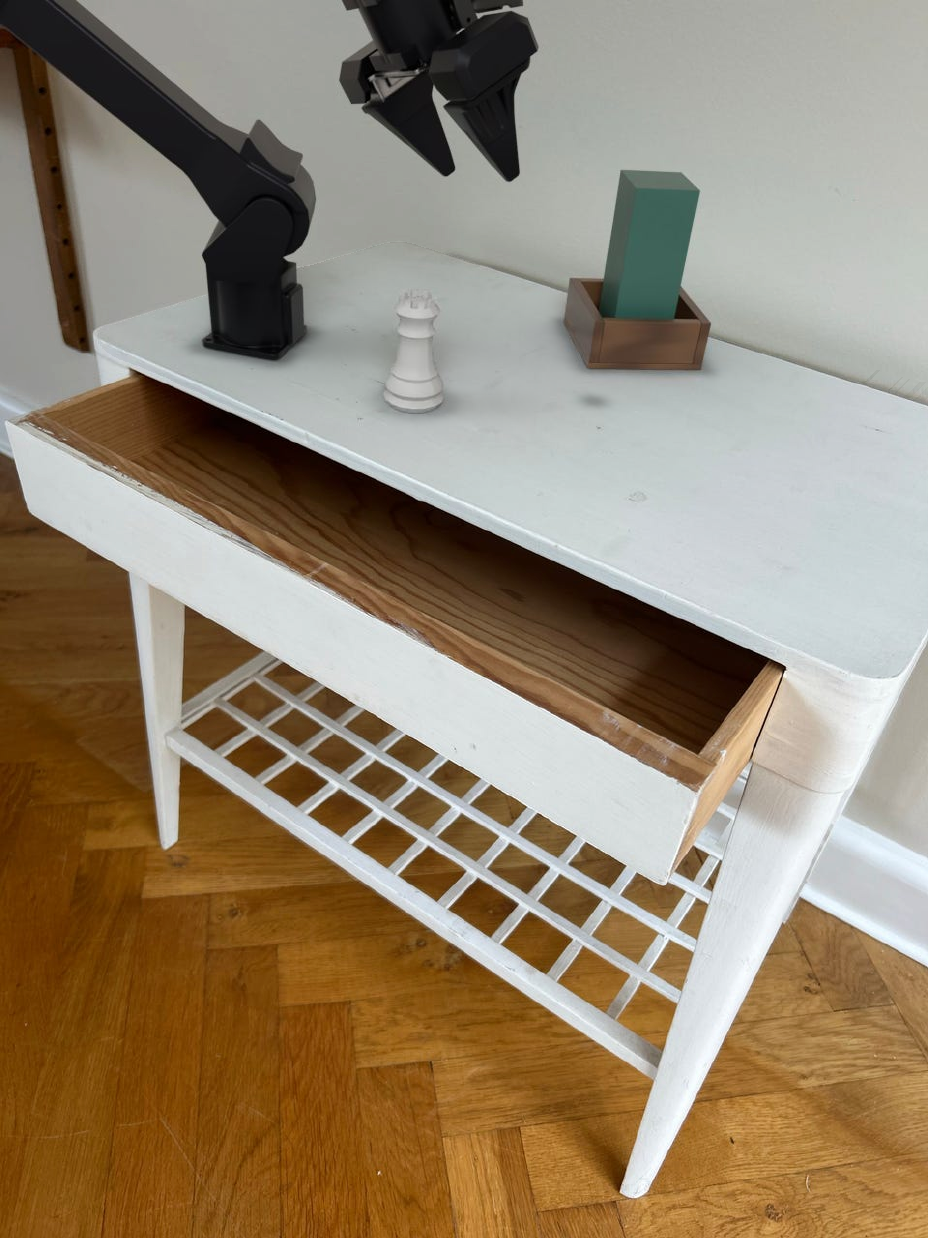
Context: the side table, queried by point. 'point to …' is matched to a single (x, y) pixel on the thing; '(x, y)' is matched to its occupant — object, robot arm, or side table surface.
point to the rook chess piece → (415, 356)
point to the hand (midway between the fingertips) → (480, 175)
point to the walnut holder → (634, 333)
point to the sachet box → (648, 244)
